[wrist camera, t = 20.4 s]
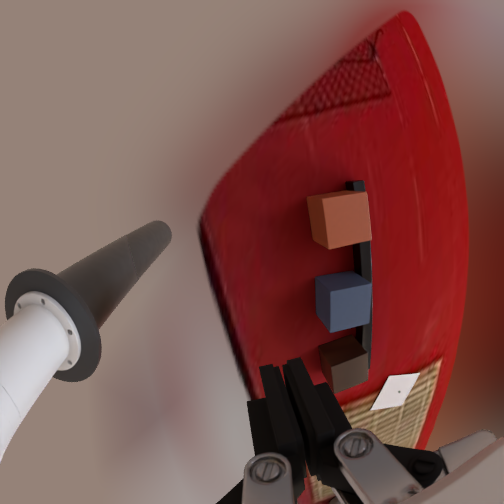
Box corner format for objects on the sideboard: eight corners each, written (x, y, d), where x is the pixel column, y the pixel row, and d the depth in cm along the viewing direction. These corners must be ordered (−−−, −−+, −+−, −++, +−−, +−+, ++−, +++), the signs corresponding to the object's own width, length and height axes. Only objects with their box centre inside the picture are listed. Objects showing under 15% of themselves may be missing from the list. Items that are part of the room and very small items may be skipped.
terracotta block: (312, 240, 31) (328, 249, 26) (306, 196, 30) (321, 198, 25) (351, 232, 31) (371, 240, 26) (345, 190, 30) (366, 191, 25)
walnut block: (322, 372, 36) (334, 394, 31) (318, 346, 34) (330, 367, 30) (353, 360, 36) (368, 380, 31) (351, 333, 35) (367, 352, 30)
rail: (355, 364, 36) (360, 372, 34) (345, 181, 30) (352, 181, 28) (364, 361, 36) (369, 368, 34) (356, 180, 30) (364, 180, 28)
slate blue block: (315, 313, 33) (330, 333, 28) (314, 276, 32) (330, 291, 27) (351, 306, 34) (369, 323, 29) (352, 270, 32) (371, 283, 28)
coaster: (370, 410, 39) (371, 412, 38) (389, 376, 38) (391, 378, 37) (401, 405, 40) (403, 407, 40) (420, 372, 39) (422, 375, 38)
